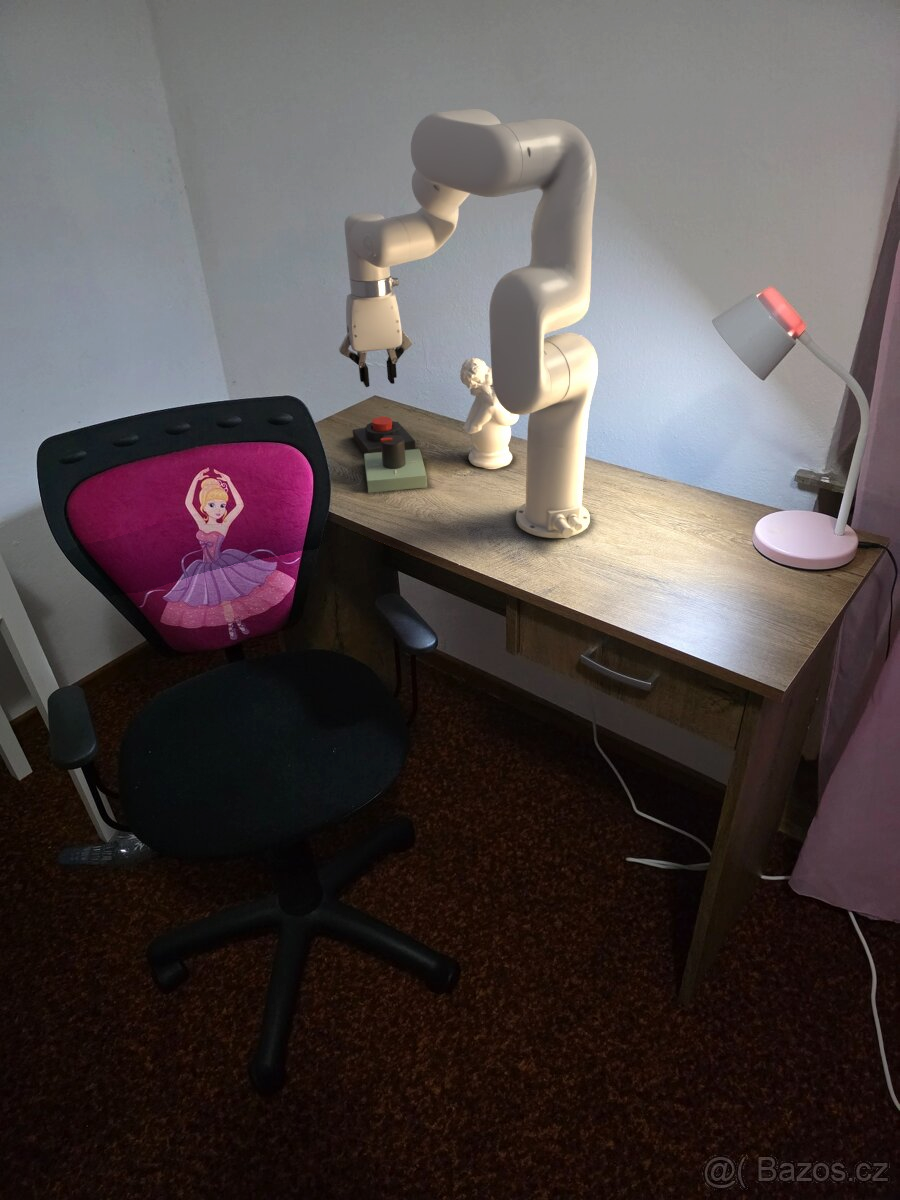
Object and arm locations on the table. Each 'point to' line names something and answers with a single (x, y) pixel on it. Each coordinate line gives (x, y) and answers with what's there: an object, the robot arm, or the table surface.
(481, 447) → the cherub figurine
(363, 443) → the button box
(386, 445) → the dial
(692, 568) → the table surface
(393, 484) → the console
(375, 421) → the button
